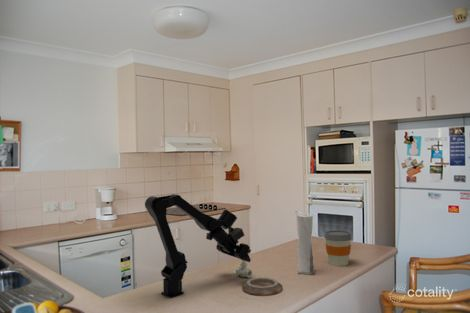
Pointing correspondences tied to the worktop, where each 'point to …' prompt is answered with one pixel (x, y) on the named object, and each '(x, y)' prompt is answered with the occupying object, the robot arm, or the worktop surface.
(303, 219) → the skyscraper
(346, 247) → the reusable coffee cup
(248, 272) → the valve
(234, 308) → the worktop surface
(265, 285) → the collar base
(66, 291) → the worktop surface
